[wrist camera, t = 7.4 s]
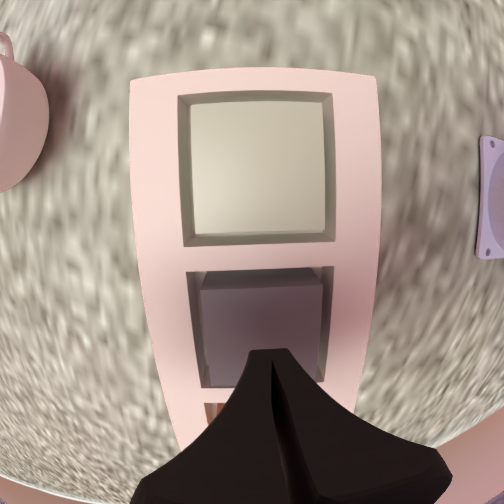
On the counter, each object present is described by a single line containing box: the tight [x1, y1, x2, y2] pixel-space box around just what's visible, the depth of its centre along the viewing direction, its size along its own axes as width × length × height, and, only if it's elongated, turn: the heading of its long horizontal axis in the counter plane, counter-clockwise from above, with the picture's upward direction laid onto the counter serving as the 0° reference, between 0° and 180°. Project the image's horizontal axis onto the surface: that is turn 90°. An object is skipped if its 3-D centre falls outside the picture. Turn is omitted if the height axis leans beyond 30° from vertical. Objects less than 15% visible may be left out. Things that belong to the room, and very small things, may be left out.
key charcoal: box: [200, 267, 323, 386], centre depth 13 cm, size 5×5×2 cm
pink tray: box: [129, 67, 381, 451], centre depth 14 cm, size 10×22×3 cm, turn 2°
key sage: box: [191, 101, 325, 234], centre depth 11 cm, size 5×5×2 cm
